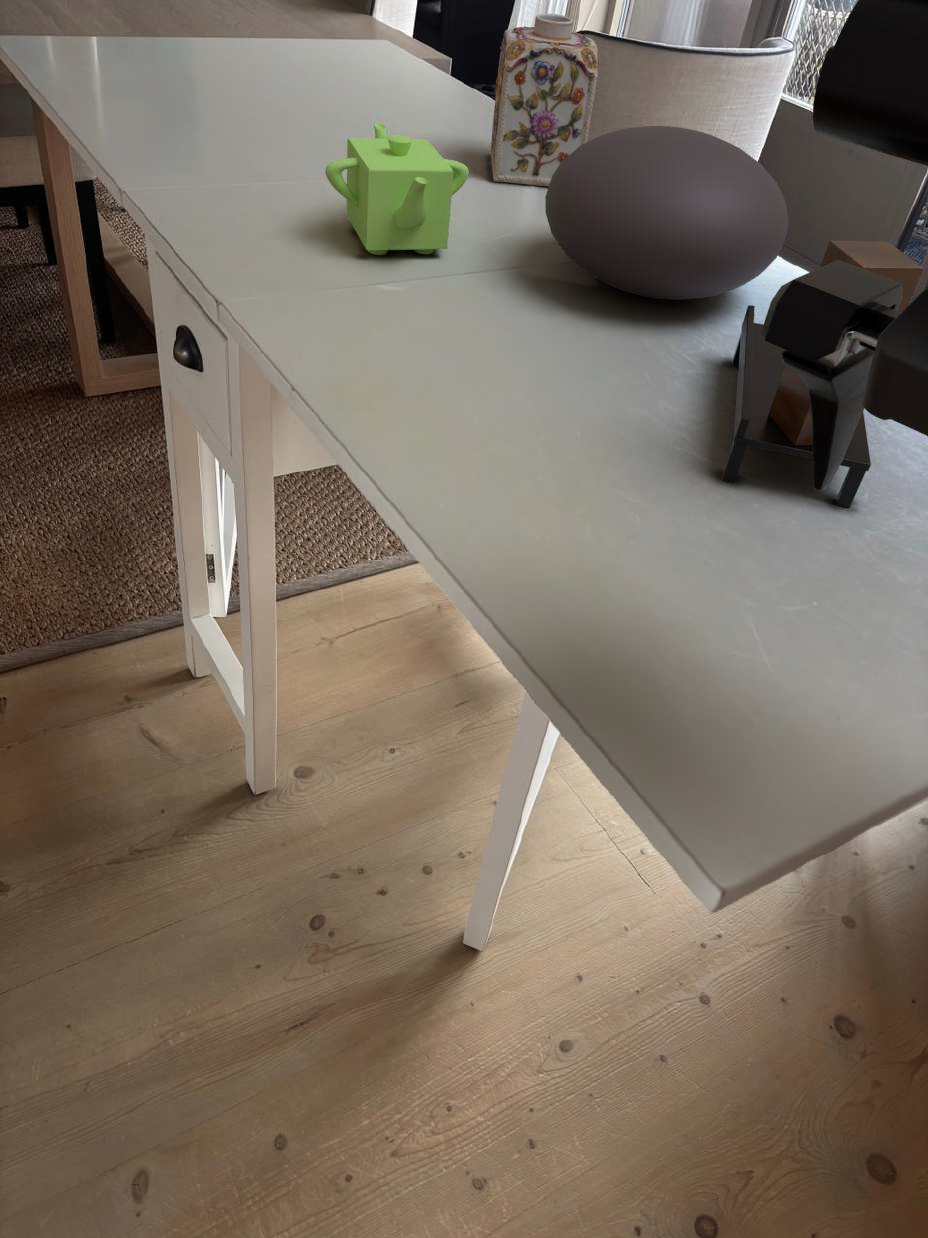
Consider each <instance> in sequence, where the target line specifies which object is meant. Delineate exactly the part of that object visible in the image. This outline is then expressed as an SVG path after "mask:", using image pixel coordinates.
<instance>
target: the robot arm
mask: <svg viewBox="0 0 928 1238" xmlns="http://www.w3.org/2000/svg"><path fill="white" fill-rule="evenodd" d="M812 122H813V123H812V124H813V128H814V130H815V132H816V133H817V134H818V135H820V136H823V137H827V138H830V139H834V140H836V141H841V142H844V143H848V144H851V145H854V146H858V147H860V148H864V149H867V150H868V149H869V150H872V151H875V152H877V153H878V152H879V153H882V154H885V155H889V156H893V157H896V158H899V159H902V160H906V161H910V162H912V163H916V164H920V165H923V166H927V167H928V0H857V2H856V3H855V5H854V6H853V8H852V9H851V11H850V12H849V14H848V16H847V18H846V20H845V22H844V23H843V25H842V28H841V30H840V32H839V34H838V36H837V39H836V40H835V43H834V45H831V46H830V47H829V48H828V49H827V50H826V52H825V55H824V59H823V61H822V64H821V67H820V71H819V74H818V78H817V82H816V86H815V91H814V97H813V103H812ZM902 298H903V297H902V284H901V283H898V282H896V281H893V280H890V279H888V278H885V277H882V276H880V275H877V274H874V273H872V272H869V271H866V270H864V269H861V268H858V267H856V266H853V265H850V264H848V263H845V262H842V261H840V260H837V261H834V262H832V263H830V264H828V265H825V266H823V267H821V268H820V267H819V268H816V269H814V270H812V271H810V272H807V273H805V274H803V275H801V276H798V277H796V278H794V279H792V280H790V281H788V282H786V283H784V284H782V285H781V286H780V287H779V289H778V290H777V292H776V293H775V294H774V296H773V297H772V299H771V300H770V303H769V305H768V309H767V312H766V315H765V319H764V322H763V328H762V331H761V335H762V336H763V338H764V340H765V341H767V342H769V343H771V344H774V345H776V346H778V347H780V348H783V349H785V350H784V351H783V352H782V354H781V356H782V361H783V363H784V364H785V365H786V366H788V367H790V368H792V369H794V370H795V371H796V372H797V373H798V375H799V376H800V378H801V379H802V381H803V382H804V384H805V385H806V387H807V389H808V392H809V397H810V405H811V412H812V430H813V460H812V488H813V490H814V491H817V492H820V493H821V492H823V491H824V490H825V489H827V488H828V487H829V486H830V485H831V483H832V481H833V479H834V477H835V475H836V473H837V471H838V470H839V468H840V467H841V465H840V464H841V462H842V461H843V459H844V456H845V454H846V451H847V449H848V446H849V444H850V441H851V439H852V436H853V434H854V431H855V429H856V426H857V424H858V421H859V419H860V416H861V414H862V411H863V409H864V410H865V411H866V412H867V413H868V414H870V415H872V416H873V417H875V418H877V419H880V420H882V421H888V420H891V421H893V422H896V423H897V424H899V425H902V426H905V427H906V428H909V429H911V430H913V431H915V432H917V433H920V434H922V435H924V436H926V437H928V286H927V287H925V289H924V290H922V291H921V292H920V293H918V295H917V296H916V297H915V298H914V299H913V300H912V301H910V303H909V305H908V306H907V307H906V308H905V309H904V310H903V311H902V312H900V311H897V310H898V308H899V306H900V303H901V301H902ZM863 412H864V411H863Z"/></svg>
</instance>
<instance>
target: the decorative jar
mask: <svg viewBox="0 0 928 1238" xmlns="http://www.w3.org/2000/svg"><path fill="white" fill-rule="evenodd" d="M534 18H535V19H534V25H533V26H519V27H518V26H517V27H514V28H510V29H505V31H504V33H503V35H502V39H501V42H500V47H499V49H500V53H499V54H500V55H499V63H498V70H497V75H496V81H495V99H494V109H493V116H492V118H493V119H492V129H491V141H490V142H491V143H490V161H491V171H492V180H493V182H497V183H498V182H499V183H508V184H509V183H510V184H520V185H530V186H540V187H547V188H548V187H549V184H550V181H551V178H552V175H553V174H554V172H555V171H556V169H557V168H558V166H559V165H560V163H561V162H562V161H563V160H565V159H566V158H567V157H568V156H569V155H570V154H571V153H573V152H574V151H575V150H576V149H577V148H578V147H579V146H581V145H583V144H585V143H587V142H588V140H589V133H590V126H591V118H592V113H593V107H594V102H595V100H594V99H595V94H596V88H597V80H598V77H599V61H598V56H599V51H598V45H597V42H596V41H595V40H594V39H592V38H590V37H588V36H585V35H584V34H582V33H577V32H575V31H573V26H574V20H573V19H572V17H569V16H566V15H563V14H558V13H538V14H536V16H535V17H534Z"/></svg>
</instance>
